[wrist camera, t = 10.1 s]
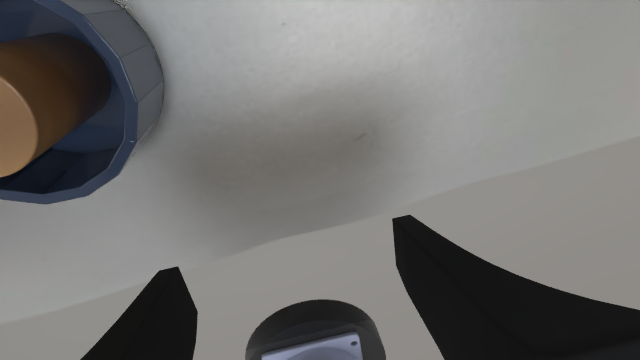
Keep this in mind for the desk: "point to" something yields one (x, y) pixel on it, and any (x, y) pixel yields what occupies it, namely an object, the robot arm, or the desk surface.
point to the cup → (107, 124)
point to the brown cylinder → (45, 94)
